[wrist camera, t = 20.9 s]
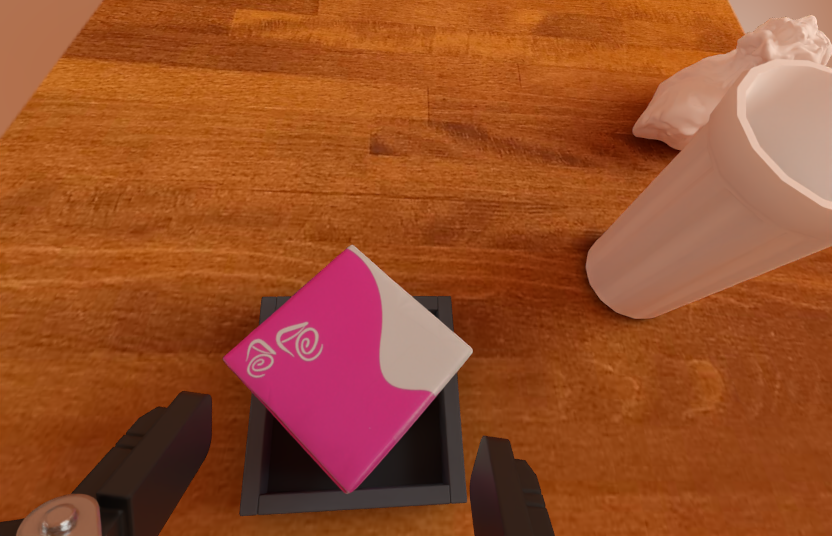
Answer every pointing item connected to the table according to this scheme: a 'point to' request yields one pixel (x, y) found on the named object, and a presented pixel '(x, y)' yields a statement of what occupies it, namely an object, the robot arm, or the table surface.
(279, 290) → the table surface
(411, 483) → the dark grey square tray
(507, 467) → the robot arm
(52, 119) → the table surface
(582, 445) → the table surface
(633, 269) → the cup
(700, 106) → the pink lumpy shape
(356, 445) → the supplement box
